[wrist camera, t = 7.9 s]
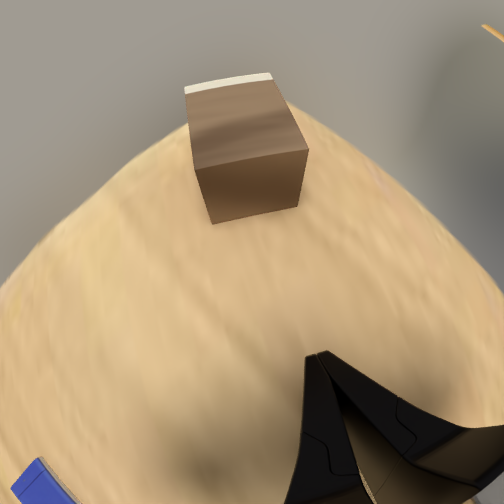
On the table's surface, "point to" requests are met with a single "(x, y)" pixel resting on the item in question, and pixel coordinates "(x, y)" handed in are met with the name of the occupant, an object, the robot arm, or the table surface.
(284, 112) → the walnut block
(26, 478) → the hard drive
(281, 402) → the table surface
